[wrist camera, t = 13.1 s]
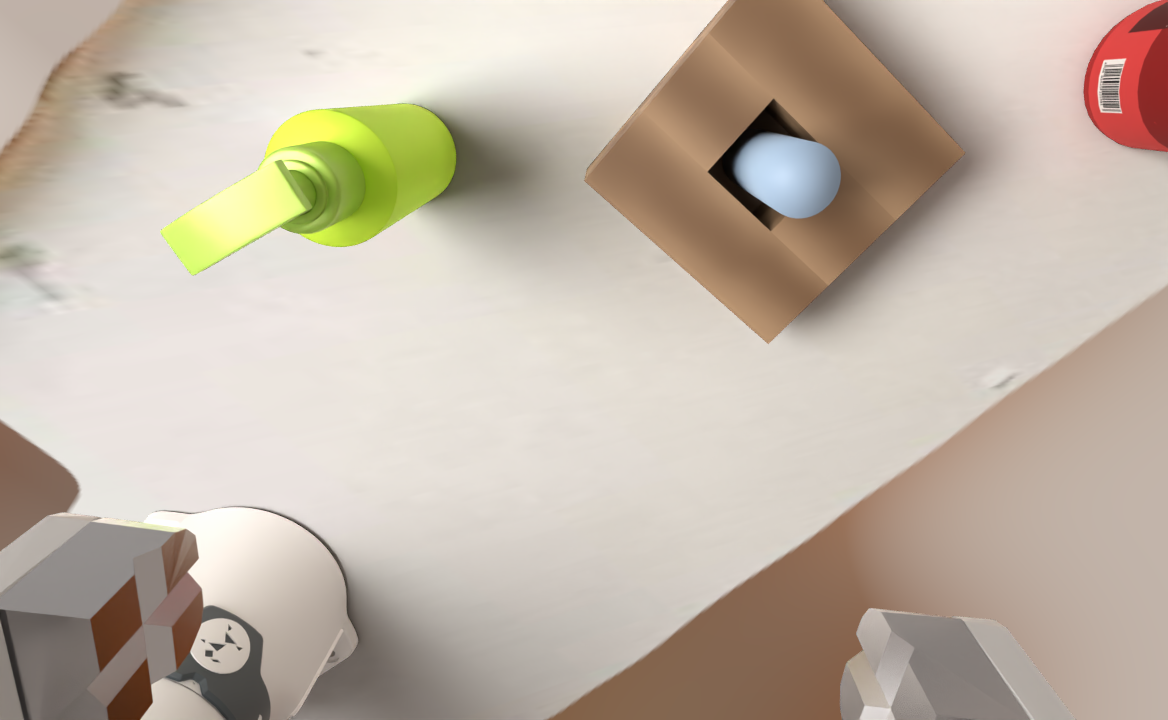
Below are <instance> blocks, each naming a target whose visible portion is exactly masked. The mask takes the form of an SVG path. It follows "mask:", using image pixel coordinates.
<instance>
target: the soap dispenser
mask: <svg viewBox="0 0 1168 720" xmlns="http://www.w3.org/2000/svg"><path fill="white" fill-rule="evenodd" d="M455 167H456V149H455V145H454V141H453V138H452V136H451V134H450V132H449V130H448V129H447V127H446V126H445V124H444V123H443V122H442V121H441V120H440V119H439V118H438V117H437V116H436V115H435V114H433V113H432V112H430V111H429V110H427V109H425V108H423V107H420V106H417V105H413V104H390V105H376V106H361V107H347V108H332V109H318V110H310V111H306V112H303V113H300V114H297V115H295V116H293V117H292V118H290V119H288V120H287V121H286V122H285V123H283V124H282V125H281V126H280V127H279V128H278V130H277V131H276V132H275V133H274V135H273V137H272V138H271V140H270V142H269V144H268V147H267V150H266V154H265V159H264V160H263V161H262V163H261V164H260V166H259V168H258V171H256V172H254V173H253V174H251V175H249V176H247V177H246V178H244V179H242V180H241V181H239V182H237V183H235V184H234V185H232V186H230V187H229V188H227V189H225V190H223V191H222V192H220V193H218V194H217V195H215V196H213V197H212V198H210V199H208V200H207V201H205V202H203V203H202V204H200V205H199V206H197V207H195V208H194V209H192V210H191V211H189V212H187V213H186V214H184V215H183V216H181V217H180V218H178V219H177V220H175V221H174V222H172V223H171V224H169V225H168V226H166V227H165V228H163V229H162V230H161V231H160V233H161V234H162V236H163V237H164V239H165V240H166V241H167V243H168V244H169V245H170V247H171V248H172V250H173V251H174V252H175V254H176V255H177V256H178V258H179V259H180V260H181V262H182V263H183V264H184V266H185V267H186V268H187V270H188V271H189V272H190V274H191V275H196V274H198V273H200V272H201V271H203V270H205V269H207V268H209V267H211V266H213V265H214V264H216V263H218V262H219V261H221V260H223V259H224V258H226V257H228V256H230V255H231V254H233V253H235V252H237V251H238V250H240V249H242V248H244V247H245V246H247V245H249V244H251V243H252V242H254V241H256V240H258V239H259V238H261V237H263V236H265V235H266V234H268V233H270V232H272V231H273V230H275V229H277V228H279V227H281V228H283V229H285V230H287V231H290V232H293V233H298V234H300V235H302V236H303V237H305V238H307V239H309V240H311V241H313V242H316V243H319V244H322V245H326V246H332V247H347V246H353V245H357V244H360V243H363V242H365V241H367V240H369V239H371V238H372V237H374V236H375V235H377V234H379V233H380V232H382V231H383V230H385V229H386V228H388V227H390V226H391V225H393V224H394V223H396V222H397V221H399V220H400V219H402V218H404V217H405V216H407V215H408V214H410V213H411V212H413V211H415V210H416V209H418V208H419V207H421V206H422V205H424V204H426V203H427V202H429V201H430V200H432V199H433V198H435V197H437V196H438V195H439V194H441V193H442V192H443V191H444V190H445V189H446V187H447V186H448V185H449V183H450V181H451V179H452V177H453V175H454V172H455Z"/></svg>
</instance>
